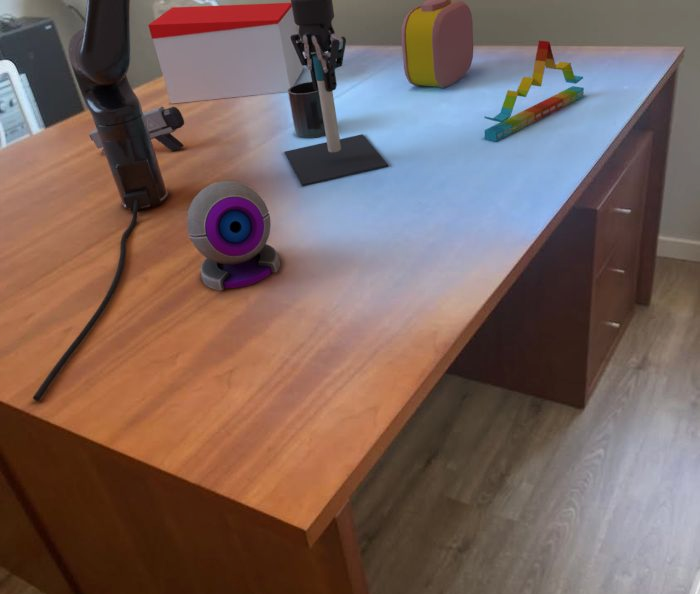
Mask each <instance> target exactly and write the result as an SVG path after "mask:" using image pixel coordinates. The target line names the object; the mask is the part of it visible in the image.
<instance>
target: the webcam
mask: <svg viewBox="0 0 700 594" xmlns="http://www.w3.org/2000/svg"><path fill="white" fill-rule="evenodd" d="M187 211H188V212H187V217H186V227H187V234H188V237H189V239H190V241H191V243H192V244H193V246H194V247H195V248H196V250H197V251H198V252H199V253H200V254H201V255H202V256H203V257H205V259H204V260H203V262H202V263H201V265H200V276H201V279H202V282H203V284H204V285H205V286H206V287H208V288H210V289H212V290H217V291H223V290H224V289H236V288H242V287H243V288H244V287H247V286H250V285H253V284H256V283H259V282H260V281H263V280H264V279H266V278H267V277H268V276H270V275H271V273H277V272H278V271H279V269H280V266H281V260H280V257H279V254H278V251H277V250H276V249H275V248H274V247H273V246H271V245H270V244H268V243H267V242H268V240H269V236H270V235H271V234H270V233H271V225H272V224H271V215H270V213H269V209H268V206H267V204H266V203H265V201H264V199H263V198H262V196H261V195H259V193H258V192H257V191H255V189H253V188H251V187H250V186H248V185H246V184H244V183H241V182H237V181H234V180H233V181H231V180H224V181H217V182H214V183H211V184H209V185H208V186H205V187H204V188H202V189H201V190H200V191H199V192H198V193H197V194H196V195H195V196H194V198H193V200H191V202H190V205H189V207H188V210H187Z"/></svg>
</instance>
